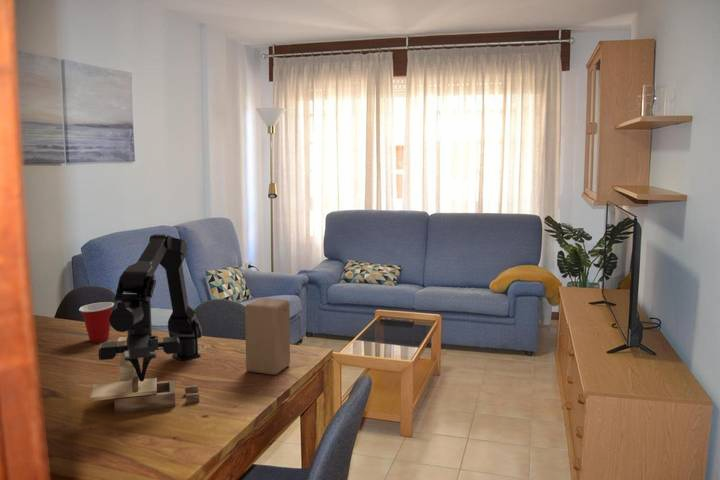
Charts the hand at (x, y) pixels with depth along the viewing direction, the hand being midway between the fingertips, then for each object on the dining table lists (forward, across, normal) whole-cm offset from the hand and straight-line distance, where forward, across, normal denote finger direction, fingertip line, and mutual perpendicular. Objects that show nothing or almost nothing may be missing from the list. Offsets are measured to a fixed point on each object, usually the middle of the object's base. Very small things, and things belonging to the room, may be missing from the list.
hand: (141, 380), depth 153 cm
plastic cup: (+6, -15, +59) cm, 61 cm away
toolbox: (+6, +4, 0) cm, 7 cm away
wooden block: (+6, +34, +16) cm, 38 cm away
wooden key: (+6, -4, +13) cm, 14 cm away
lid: (+2, -4, 0) cm, 5 cm away
